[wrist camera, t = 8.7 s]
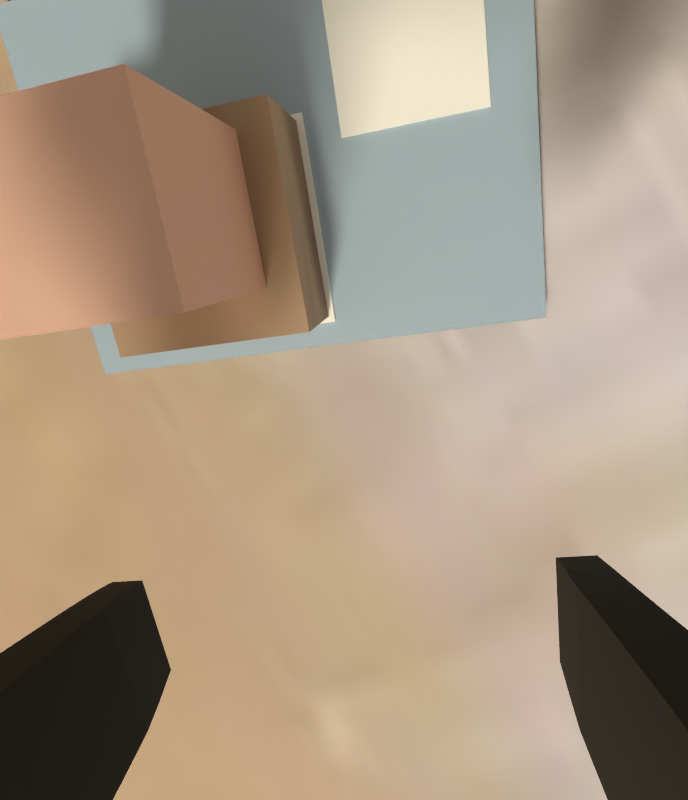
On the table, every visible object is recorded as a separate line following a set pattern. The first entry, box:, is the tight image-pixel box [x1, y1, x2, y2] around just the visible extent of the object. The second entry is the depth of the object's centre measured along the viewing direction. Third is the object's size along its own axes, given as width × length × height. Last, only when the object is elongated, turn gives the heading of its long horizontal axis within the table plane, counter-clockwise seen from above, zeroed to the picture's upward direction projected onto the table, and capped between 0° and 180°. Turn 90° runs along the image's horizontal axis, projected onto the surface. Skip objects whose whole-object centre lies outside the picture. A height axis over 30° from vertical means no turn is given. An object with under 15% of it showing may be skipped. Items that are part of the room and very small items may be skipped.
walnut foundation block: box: [111, 94, 329, 358], centre depth 15 cm, size 6×6×3 cm
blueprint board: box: [0, 0, 546, 374], centre depth 16 cm, size 16×12×1 cm
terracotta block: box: [0, 64, 267, 340], centre depth 11 cm, size 4×4×5 cm
